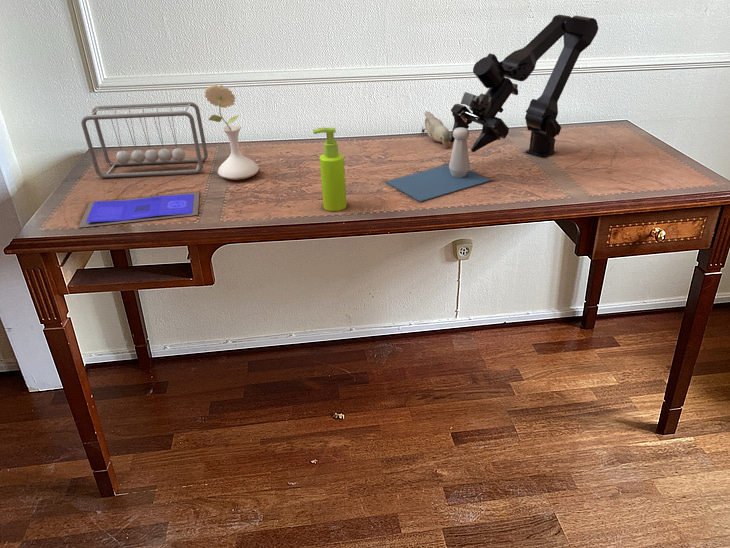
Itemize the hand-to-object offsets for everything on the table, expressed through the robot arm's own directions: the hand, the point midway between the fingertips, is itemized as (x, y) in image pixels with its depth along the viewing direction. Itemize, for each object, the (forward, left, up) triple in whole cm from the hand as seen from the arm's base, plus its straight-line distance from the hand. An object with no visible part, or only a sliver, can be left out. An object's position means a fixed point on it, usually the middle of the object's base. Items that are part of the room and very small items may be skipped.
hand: (461, 146), depth 164 cm
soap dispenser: (-10, -38, -9) cm, 40 cm away
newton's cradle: (-67, -59, -9) cm, 89 cm away
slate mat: (-1, -7, -8) cm, 11 cm away
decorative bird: (-25, +17, -9) cm, 31 cm away
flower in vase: (-46, -44, -9) cm, 64 cm away
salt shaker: (0, 0, -8) cm, 8 cm away
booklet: (-43, -73, -8) cm, 86 cm away
